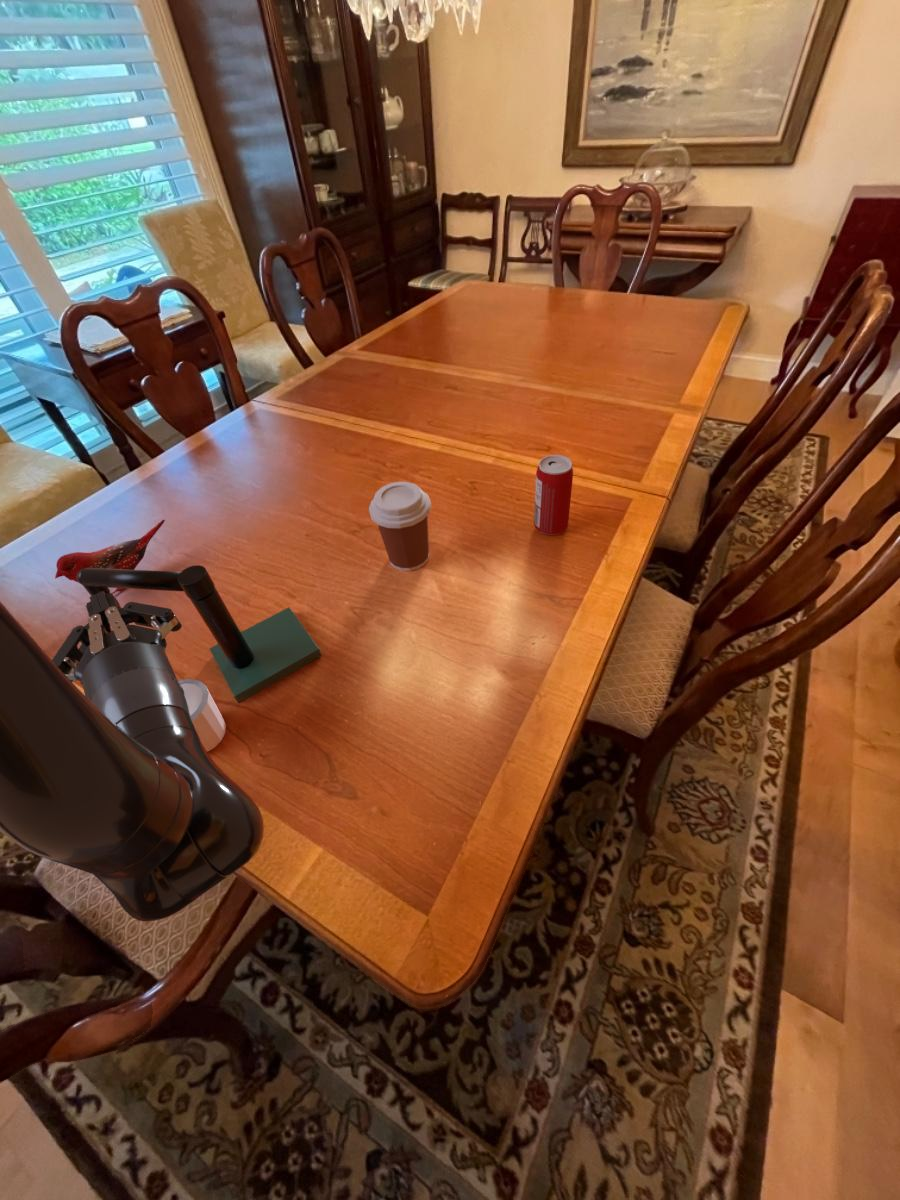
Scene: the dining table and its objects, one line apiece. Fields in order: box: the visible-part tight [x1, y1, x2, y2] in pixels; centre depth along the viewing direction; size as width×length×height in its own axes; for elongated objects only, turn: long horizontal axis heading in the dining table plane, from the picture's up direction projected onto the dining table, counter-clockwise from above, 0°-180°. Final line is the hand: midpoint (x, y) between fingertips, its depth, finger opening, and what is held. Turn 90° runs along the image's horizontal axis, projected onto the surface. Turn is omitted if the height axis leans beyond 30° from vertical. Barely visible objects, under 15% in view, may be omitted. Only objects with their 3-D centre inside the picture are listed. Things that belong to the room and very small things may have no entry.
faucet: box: [189, 586, 323, 704], centre depth 68 cm, size 12×10×15 cm
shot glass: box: [178, 678, 227, 752], centre depth 63 cm, size 7×7×7 cm
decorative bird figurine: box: [54, 519, 166, 595], centre depth 83 cm, size 3×18×10 cm, turn 146°
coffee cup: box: [368, 481, 432, 572], centre depth 81 cm, size 9×9×12 cm
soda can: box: [533, 454, 574, 536], centre depth 83 cm, size 6×6×12 cm
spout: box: [77, 564, 216, 600], centre depth 62 cm, size 17×3×4 cm, turn 82°
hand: (100, 599), depth 60 cm, fingers closed
